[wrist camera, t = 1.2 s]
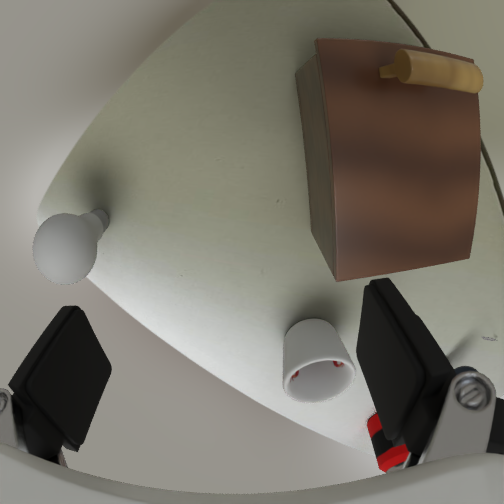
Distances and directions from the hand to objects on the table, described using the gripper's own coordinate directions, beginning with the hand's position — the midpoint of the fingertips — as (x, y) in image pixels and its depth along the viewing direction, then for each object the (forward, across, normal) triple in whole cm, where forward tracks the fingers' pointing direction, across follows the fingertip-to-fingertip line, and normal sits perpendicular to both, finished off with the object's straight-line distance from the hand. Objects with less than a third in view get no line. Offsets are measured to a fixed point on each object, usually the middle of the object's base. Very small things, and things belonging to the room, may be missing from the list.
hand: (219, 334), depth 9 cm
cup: (+21, -6, +21) cm, 30 cm away
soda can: (+21, -22, +45) cm, 54 cm away
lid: (+12, -13, -3) cm, 18 cm away
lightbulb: (+21, +15, +1) cm, 26 cm away
